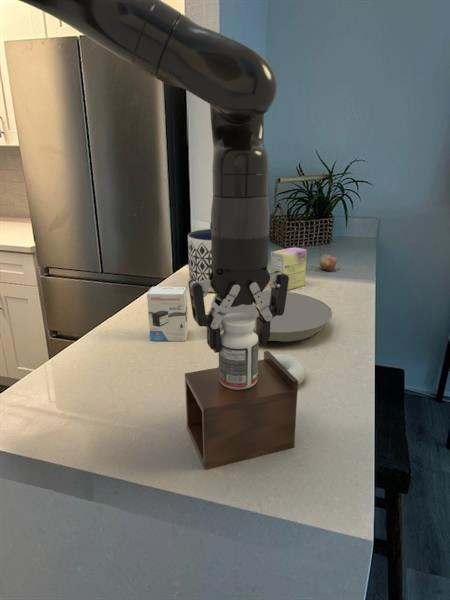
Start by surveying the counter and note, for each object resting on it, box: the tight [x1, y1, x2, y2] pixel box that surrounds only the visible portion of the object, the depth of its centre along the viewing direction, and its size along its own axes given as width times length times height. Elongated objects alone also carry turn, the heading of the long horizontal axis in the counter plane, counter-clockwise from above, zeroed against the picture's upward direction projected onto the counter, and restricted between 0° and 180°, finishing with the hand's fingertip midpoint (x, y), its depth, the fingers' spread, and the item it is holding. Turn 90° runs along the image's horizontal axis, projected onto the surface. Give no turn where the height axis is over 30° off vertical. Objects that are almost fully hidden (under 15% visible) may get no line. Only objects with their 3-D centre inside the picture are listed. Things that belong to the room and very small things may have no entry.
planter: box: [187, 228, 215, 293], centre depth 137 cm, size 18×18×16 cm
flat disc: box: [227, 290, 333, 342], centre depth 107 cm, size 28×28×4 cm
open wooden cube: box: [184, 350, 299, 470], centre depth 65 cm, size 14×10×11 cm
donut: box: [258, 353, 307, 385], centre depth 83 cm, size 10×4×10 cm
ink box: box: [146, 286, 189, 342], centre depth 100 cm, size 8×5×12 cm, turn 88°
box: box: [269, 246, 308, 291], centre depth 135 cm, size 10×6×12 cm, turn 128°
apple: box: [318, 253, 338, 272], centre depth 153 cm, size 6×8×6 cm
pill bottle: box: [218, 313, 259, 390], centre depth 62 cm, size 6×6×10 cm
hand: (239, 346), depth 61 cm, fingers open, 6 cm apart
